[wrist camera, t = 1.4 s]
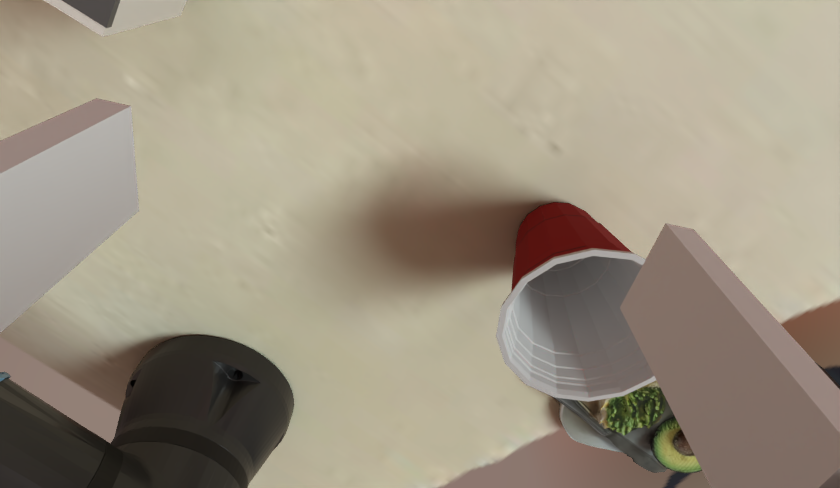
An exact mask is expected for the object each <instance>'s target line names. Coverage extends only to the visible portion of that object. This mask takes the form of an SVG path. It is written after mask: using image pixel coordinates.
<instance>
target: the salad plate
mask: <svg viewBox="0 0 840 488" xmlns="http://www.w3.org/2000/svg"><path fill="white" fill-rule="evenodd" d="M553 398H555V397H553ZM555 399H556V400H557V401H559V402H560V409H559V417H560V420H561V422H562V425H563V427H564V429H565V430H566V432H567V433H568V435H569V436H570V437H571V438H572V439H573V440H575V441H577V442H580V443H584V444H586V445H589V446H594V447H598V448H604V449H608V450H612V451H618V452H623V453H625V454H627V456H629V457H631V458H632V459H633V461H634V462H635V463H636V464H638V465H639V466H641V467H643V468H645V469H646V470H648V471H651V472H654V473H657V472H665V471H666V469H670V470H673V471H676V472H679V473H693V472H699V471H701V470H702V469H701V467H700V465H699V463H698V461H697V459H696V457H695V455H694V453H693V451H692V449H691V447H690V445H689V443H688V441H687V439H686V437H685V435H684V433H683V431H682V429H681V427H680V425H679V423H678V421H677V419H676V418H675V416H674V414H673V412H672V410H671V408H670V406H669V404H668V402H667V400H666V398H665V396H664V394H663V392H662V390H661V388H660V386H659V384H658V382H657V380H656V381H654V382H652V383H649V384H647V385H645V386H643V387H641V388H639V389H637V390H635V391H633V392H631V393H629V394H626V395H624V396H620V397H613V398H607V399H601V400H595V401H589V402H588V401H580V400H572V399H563V398H555Z"/></svg>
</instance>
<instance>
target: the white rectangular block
mask: <svg viewBox="0 0 840 488" xmlns="http://www.w3.org/2000/svg"><path fill="white" fill-rule="evenodd" d="M44 1H45V2H47V3H49V4H50V5H52V6H54V7H55V8H57V9H58V10H60V11H62V12H63V13H65V14H66V15H68V16H70V17H71V18H73V19H75V20H76V21H78V22H79V23H81V24H83V25H84V26H86V27H87V28H89V29H91V30H92V31H94V32H95V33H97V34H99V35H100V36H102V37H105V36H108V35H112V34H116V33H119V32H123V31H127V30H130V29H134V28H138V27H141V26H145V25H149V24H152V23H156V22H160V21H163V20H167V19H171V18H174V17H178V16H181V14H182V11H183V9H184V6H185V4H186V1H187V0H44Z"/></svg>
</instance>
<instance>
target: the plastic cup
mask: <svg viewBox="0 0 840 488" xmlns="http://www.w3.org/2000/svg"><path fill="white" fill-rule="evenodd" d="M645 260H646V259H644V258H642V257H641V256H639V255H637V254H635V253H633V252H631V251H630V250H629V249H628V248H626V247H625V246H624V245H623V244H622V243H621V242H620V241H619V240H618V239H617V238H616V237H615V236H613V235H612V234H611V233H610V232H609V231H608V230H607V229H606V228H605V227H604V226H603V225H601V224H600V223H598V222H596V221H595V220H594V219H593V218H592V217H591V216H590V215H589V214H588V213H587V212H586V211H584V210H582V209H580V208H578V207H576V206H574V205H572V204H570V203H558V202H554V203H550V204H546V205H543V206H540V207H538V208H537V209H535V210H534V211H532V212H531V213H529V214H528V215H527V216H526V218H525V219H524V221H523V222H522V224H521V225H520V228H519V230H518V235H517V240H516V253H515V259H514V266H513V279H512V291H511V293H510V294H509V296H508V297H507V298H506V300H505V301H504V303H503V304H502V306H501V312H500V317H499V323H498V328H497V334H496V337H497V340H498V343H499V346H500V350H501V353H502V356H503V359H504V362H505V364H506V365H507V366H508V367H509V368H510V369H511V370H512V371H513V372H514V373H515V374H516V375H517V376H518V377H519V378H520V379H521V380H522V381H523V382H524V383H525V384H526V385H528V386H531V387H533V388H535V389H537V390H539V391H541V392H544V393H546V394H548V395H550V396H552V397H555V398H563V399H572V400H580V401H588V402H589V401H595V400H601V399H607V398H613V397H620V396H624V395H626V394H629V393H631V392H633V391H635V390H637V389H639V388H641V387H643V386H645V385H647V384H649V383H652V382H654V381H656V378H655V376H654V374H653V372H652V370H651V368H650V366H649V364H648V362H647V360H646V358H645V356H644V355H643V353H642V351H641V349H640V347H639V345H638V343H637V341H636V339H635V337H634V335H633V333H632V331H631V329H630V327H629V325H628V323H627V321H626V319H625V317H624V315H623V313H622V311H621V309H620V306H621V304H622V303H623V301H624V299H625V297H626V295H627V293H628V292H629V290H630V288H631V286H632V284H633V282H634V281H635V279H636V277H637V275H638V273H639V271H640V270H641V268H642V266H643V264H644V262H645Z"/></svg>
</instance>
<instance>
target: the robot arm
mask: <svg viewBox="0 0 840 488" xmlns="http://www.w3.org/2000/svg"><path fill="white" fill-rule="evenodd" d="M138 211H139V203H138V190H137V177H136V164H135V151H134V138H133V125H132V112H131V106H129V105H125V104H120V103H115V102H111V101H106V100H102V99H97V98H96V99H94V100H92V101H89V102H87V103H85V104H83V105H80V106H78V107H76V108H74V109H71V110H69V111H67V112H65V113H62V114H60V115H58V116H56V117H53V118H51V119H49V120H47V121H44V122H42V123H40V124H38V125H35V126H33V127H31V128H29V129H26V130H24V131H22V132H20V133H17V134H15V135H13V136H10V137H8V138H6V139H4V140H1V141H0V333H1V332H2V331H3V330H5V329H6V328H7V327H8V326H9V325H10V324H11V323H12V322H14V321H15V320H16V319H17V318H18V317H19V316H20V315H21V314H23V313H24V312H25V311H26V310H27V309H28V308H29V307H31V306H32V305H33V304H34V303H35V302H36V301H37V300H38V299H40V298H41V297H42V296H43V295H44V294H45V293H46V292H48V291H49V290H50V289H51V288H52V287H53V286H54V285H55V284H57V283H58V282H59V281H60V280H61V279H62V278H63V277H64V276H66V275H67V274H68V273H69V272H70V271H71V270H72V269H74V268H75V267H76V266H77V265H78V264H79V263H80V262H81V261H83V260H84V259H85V258H86V257H87V256H88V255H89V254H91V253H92V252H93V251H94V250H95V249H96V248H97V247H98V246H100V245H101V244H102V243H103V242H104V241H105V240H106V239H107V238H109V237H110V236H111V235H112V234H113V233H114V232H115V231H117V230H118V229H119V228H120V227H121V226H122V225H123V224H124V223H126V222H127V221H128V220H129V219H130V218H131V217H132V216H134V215H135V214H136V213H137V212H138ZM620 309H621V311H622V313H623V315H624V317H625V319H626V321H627V323H628V325H629V327H630V329H631V331H632V333H633V335H634V337H635V339H636V341H637V343H638V345H639V347H640V349H641V351H642V353H643V355H644V356H645V358H646V360H647V362H648V364H649V366H650V368H651V370H652V372H653V374H654V376H655V378H656V380H657V382H658V384H659V386H660V388H661V390H662V392H663V394H664V396H665V398H666V400H667V402H668V404H669V406H670V408H671V410H672V412H673V414H674V416H675V418H676V419H677V421H678V423H679V425H680V427H681V429H682V431H683V433H684V435H685V437H686V439H687V441H688V443H689V445H690V447H691V449H692V451H693V453H694V455H695V457H696V459H697V461H698V463H699V465H700V467H701V469H702V471H703V473H704V475H705V477H706V478H707V481H708V482H709V484H710V486H711V488H840V386H839V385H838V384H837V382H836V381H835V380H834V379H833V378H832V377H831V376H830V375H829V374H828V373H827V372H826V371H825V369H823V368H822V367H821V366H819V365H818V364H817V363H816V362H814V361H813V360H812V359H811V358H810V356H809V355H808V354H807V353H806V352H805V351H804V350H803V349H802V348H801V347H800V345H799V344H798V343H797V342H796V341H795V340H794V339H793V338H792V337H791V336H790V334H788V332H787V331H786V330H785V329H784V328H783V327H782V326H781V325H780V323H779V322H778V321H777V320H776V319H775V318H774V317H773V316H772V315H771V314H770V313H769V311H768V310H767V309H766V308H765V307H764V306H763V305H762V304H761V303H760V302H759V300H758V299H757V298H756V297H755V296H754V295H753V294H752V293H751V292H750V291H749V289H748V288H747V287H746V286H745V285H744V284H743V283H742V282H741V281H740V280H739V279H738V277H737V276H736V275H735V274H734V273H733V272H732V271H731V270H730V269H729V268H728V266H727V265H726V264H725V263H724V262H723V261H722V260H721V259H720V258H719V257H718V255H717V254H716V253H715V252H714V251H713V250H712V249H711V248H710V247H709V246H708V244H707V243H706V242H705V241H704V240H703V239H702V238H701V237H700V236H699V235H698V234H697V232H696V231H695V230H694V229H689V228H685V227H680V226H676V225H671V224H667V223H666V224H665V225H664V227H663V229H662V231H661V233H660V235H659V236H658V238H657V240H656V242H655V244H654V246H653V247H652V249H651V251H650V253H649V255H648V257H647V258H646V260H645V262H644V264H643V266H642V268H641V270H640V271H639V273H638V275H637V277H636V279H635V281H634V282H633V284H632V286H631V288H630V290H629V292H628V293H627V295H626V297H625V299H624V301H623V303H622V304H621V306H620ZM9 378H10V375H9V374H8V373H6V372H0V488H247V487H248V485H249V483H250V481H251V480H252V479H253V477H254V476H255V475H256V473H257V472H258V471H259V469H260V468H261V466H262V465H263V464H264V462H265V461H266V460H267V458H268V457H269V455H270V454H271V452H272V451H273V450H274V449H275V448H276V447H277V446H278V444H279V443H280V442H281V441H282V439H283V437H284V436H285V434H286V431H287V429H288V426H289V423H290V419H291V416H292V413H293V408H294V398H293V393H292V390H291V388H290V385H289V383H288V381H287V380H286V378H285V377H284V375H283V374H282V373H281V372H280V370H279V369H278V368H277V367H276V366H275V365H274V364H273V363H271V362H270V361H269V360H268V359H266V358H265V357H264V356H262V355H261V354H259V353H257V352H256V351H254V350H252V349H250V348H248V347H246V346H243V345H241V344H239V343H236V342H233V341H229V340H226V339H222V338H217V337H210V336H185V337H179V338H174V339H171V340H168V341H165V342H163V343H161V344H159V345H157V346H156V347H154V348H153V349H151V350H150V351H149V352H148V353H147V354H146V355H145V357H144V358H143V360H142V361H141V363H140V364H139V365H138V367H137V368H136V370H135V371H134V372H133V374H132V376H131V378H130V380H129V382H128V386H127V390H126V398H125V401H124V403H123V407H122V410H121V414H120V417H119V421H118V426H117V429H116V434H115V437H114V439H113V441H112V442H111V444H110V443H108V442H107V441H106V440H104V439H103V438H101V437H99V436H98V435H96V434H94V433H93V432H91V431H89V430H88V429H86V428H85V427H83V426H81V425H80V424H78V423H77V422H75V421H74V420H72V419H71V418H69V417H67V416H66V415H64V414H63V413H61V412H60V411H58V410H56V409H55V408H53V407H52V406H50V405H49V404H47V403H45V402H44V401H43V400H41V399H39V398H38V397H36V396H35V395H33V394H32V393H30V392H29V391H27V390H25V389H24V388H22V387H21V386H19V385H18V384H16V383H14V382H13V381H11V380H10V379H9Z"/></svg>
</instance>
